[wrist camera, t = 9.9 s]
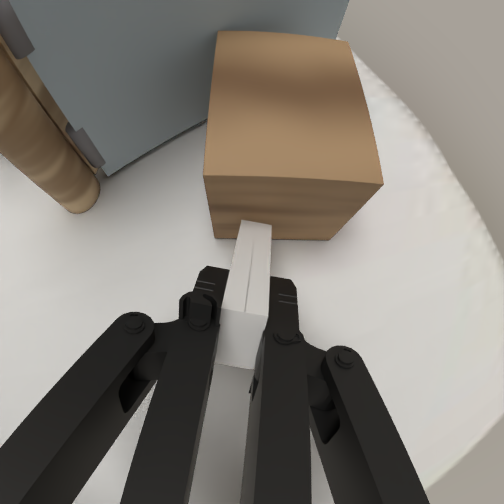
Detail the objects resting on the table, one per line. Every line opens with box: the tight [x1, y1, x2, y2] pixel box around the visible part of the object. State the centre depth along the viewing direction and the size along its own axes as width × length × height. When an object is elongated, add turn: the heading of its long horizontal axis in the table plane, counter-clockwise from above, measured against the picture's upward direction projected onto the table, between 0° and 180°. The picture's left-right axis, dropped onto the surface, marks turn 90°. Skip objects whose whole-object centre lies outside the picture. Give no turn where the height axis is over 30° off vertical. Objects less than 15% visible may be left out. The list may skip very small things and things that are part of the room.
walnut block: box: [203, 31, 384, 240], centre depth 16 cm, size 9×7×8 cm
